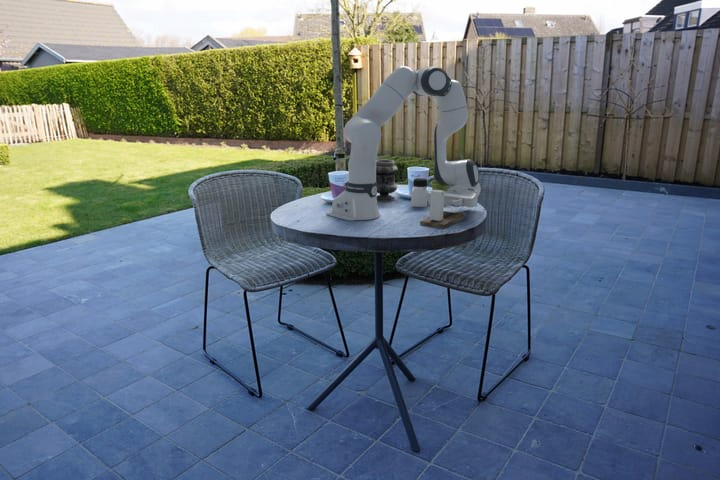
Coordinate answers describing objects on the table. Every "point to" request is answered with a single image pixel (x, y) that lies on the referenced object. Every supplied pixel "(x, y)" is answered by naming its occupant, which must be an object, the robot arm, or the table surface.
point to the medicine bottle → (419, 193)
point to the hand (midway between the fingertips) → (442, 202)
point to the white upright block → (436, 205)
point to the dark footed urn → (385, 179)
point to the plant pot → (439, 186)
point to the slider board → (443, 220)
